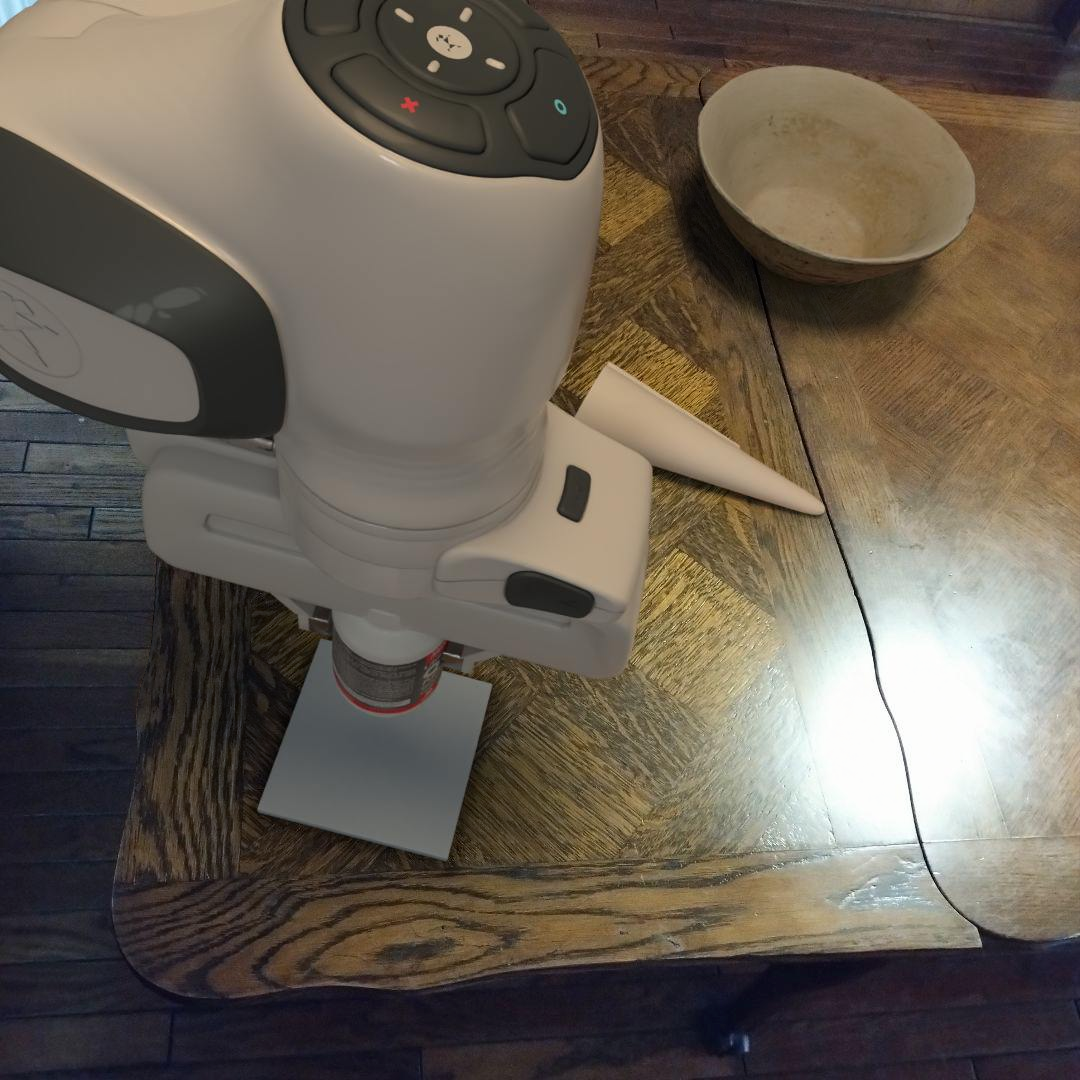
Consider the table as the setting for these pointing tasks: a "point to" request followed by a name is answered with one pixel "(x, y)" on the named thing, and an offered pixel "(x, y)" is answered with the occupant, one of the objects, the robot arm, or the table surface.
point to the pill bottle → (384, 663)
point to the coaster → (378, 763)
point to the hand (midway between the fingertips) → (391, 638)
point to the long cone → (682, 441)
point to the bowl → (831, 174)
